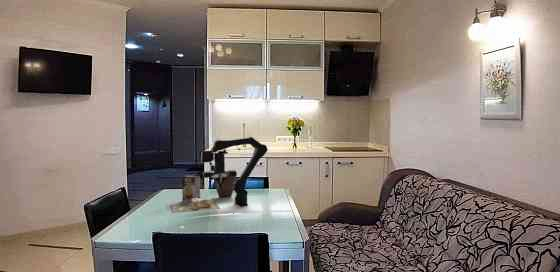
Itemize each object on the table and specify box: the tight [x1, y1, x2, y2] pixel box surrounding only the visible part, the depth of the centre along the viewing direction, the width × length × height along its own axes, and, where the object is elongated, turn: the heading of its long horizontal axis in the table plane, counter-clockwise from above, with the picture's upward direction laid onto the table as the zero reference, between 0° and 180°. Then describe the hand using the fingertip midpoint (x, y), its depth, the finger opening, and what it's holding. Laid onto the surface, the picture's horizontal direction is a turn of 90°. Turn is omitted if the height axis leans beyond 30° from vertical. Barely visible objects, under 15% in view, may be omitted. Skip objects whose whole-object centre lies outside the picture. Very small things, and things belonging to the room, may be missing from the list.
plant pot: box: [213, 170, 237, 199], centre depth 250 cm, size 15×15×16 cm
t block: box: [191, 197, 212, 209], centre depth 221 cm, size 10×10×4 cm
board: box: [169, 201, 221, 214], centre depth 220 cm, size 26×20×1 cm
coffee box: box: [181, 174, 201, 203], centre depth 237 cm, size 9×6×16 cm
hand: (220, 188), depth 224 cm, fingers closed
